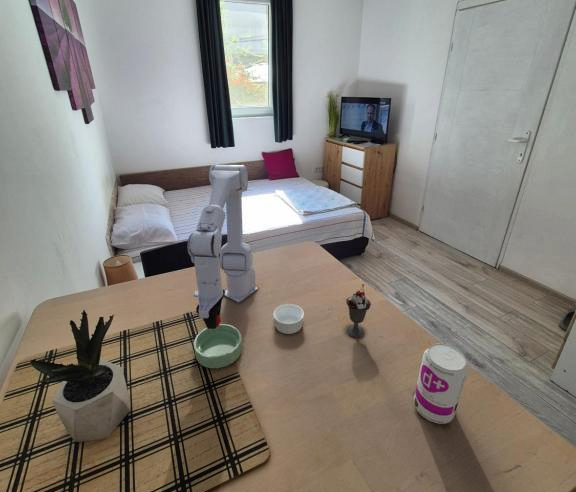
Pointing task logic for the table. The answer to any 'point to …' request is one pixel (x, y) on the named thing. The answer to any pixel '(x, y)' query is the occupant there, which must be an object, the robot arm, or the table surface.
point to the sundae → (357, 312)
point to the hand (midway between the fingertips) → (213, 322)
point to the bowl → (218, 346)
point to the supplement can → (440, 383)
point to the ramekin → (288, 318)
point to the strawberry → (218, 320)
